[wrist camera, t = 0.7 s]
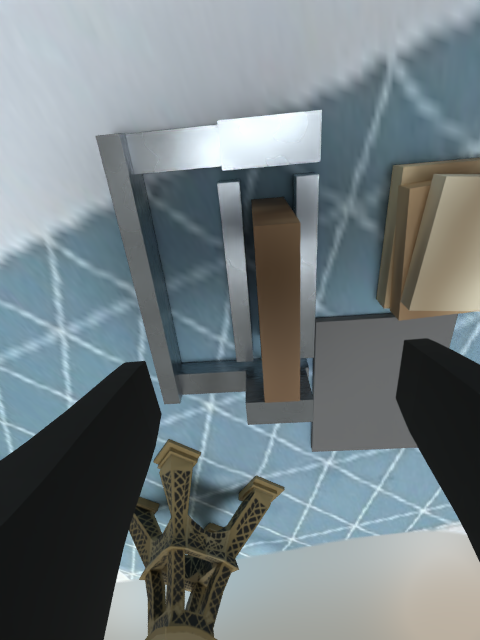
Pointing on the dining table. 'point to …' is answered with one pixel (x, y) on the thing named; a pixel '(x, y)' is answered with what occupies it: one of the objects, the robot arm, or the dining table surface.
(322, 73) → the dining table surface
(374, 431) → the mat
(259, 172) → the dining table surface
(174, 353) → the rack
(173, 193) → the dining table surface
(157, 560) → the eiffel tower
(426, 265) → the offcut stack
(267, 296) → the walnut sheet
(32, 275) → the dining table surface
